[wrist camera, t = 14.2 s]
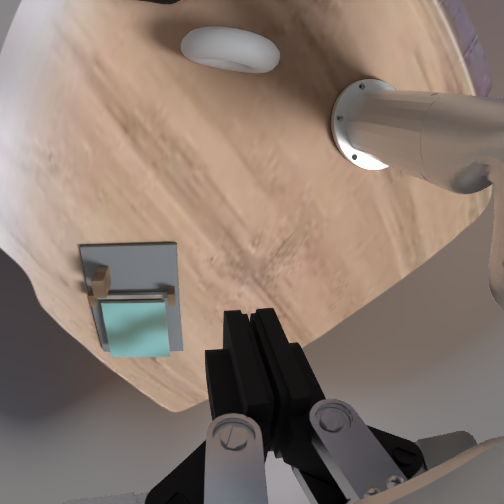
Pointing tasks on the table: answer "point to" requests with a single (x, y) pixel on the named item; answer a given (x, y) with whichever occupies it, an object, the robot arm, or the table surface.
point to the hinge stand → (102, 285)
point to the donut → (230, 49)
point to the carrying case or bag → (163, 1)
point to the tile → (136, 328)
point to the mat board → (136, 279)
